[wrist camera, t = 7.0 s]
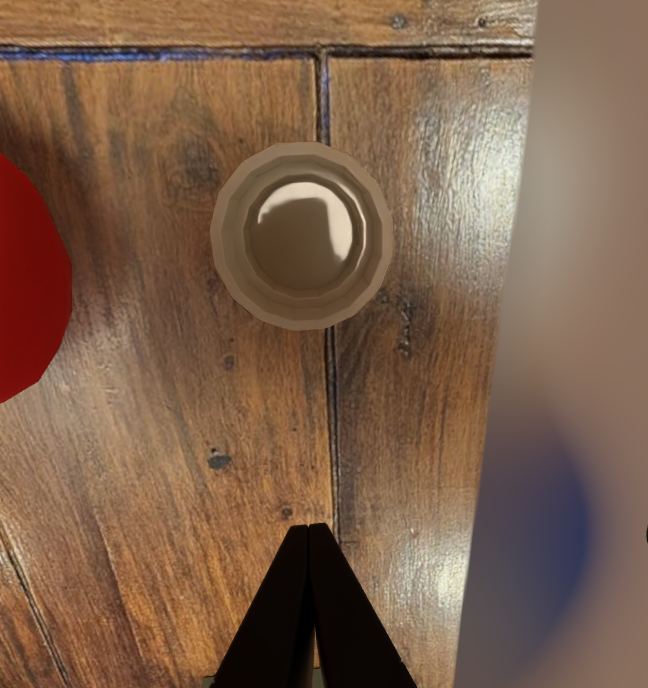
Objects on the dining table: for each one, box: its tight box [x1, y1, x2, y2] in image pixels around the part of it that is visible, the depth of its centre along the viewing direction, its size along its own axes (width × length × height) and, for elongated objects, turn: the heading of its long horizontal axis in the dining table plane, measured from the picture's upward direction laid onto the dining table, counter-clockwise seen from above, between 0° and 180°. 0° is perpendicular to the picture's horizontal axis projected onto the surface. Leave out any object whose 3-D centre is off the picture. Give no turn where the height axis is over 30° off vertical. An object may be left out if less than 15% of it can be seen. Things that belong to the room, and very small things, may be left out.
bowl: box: [209, 141, 393, 331], centre depth 15 cm, size 6×6×4 cm
